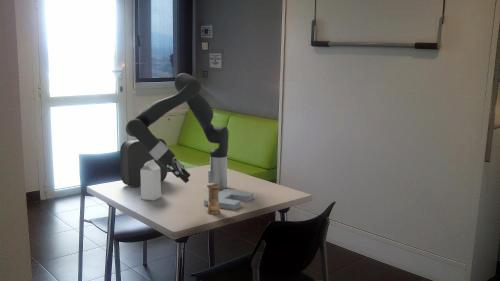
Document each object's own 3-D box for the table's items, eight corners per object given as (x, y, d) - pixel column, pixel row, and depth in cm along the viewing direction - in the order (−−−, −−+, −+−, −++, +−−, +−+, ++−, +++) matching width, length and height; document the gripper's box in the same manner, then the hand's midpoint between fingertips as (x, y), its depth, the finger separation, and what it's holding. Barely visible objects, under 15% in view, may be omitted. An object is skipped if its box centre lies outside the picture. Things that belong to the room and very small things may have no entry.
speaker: (128, 189, 252) (127, 142, 248) (119, 186, 258) (118, 140, 254) (167, 181, 270) (166, 137, 266) (158, 178, 276) (157, 135, 272)
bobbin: (205, 213, 216) (204, 185, 214) (211, 209, 221) (211, 182, 219) (215, 214, 214) (215, 186, 211) (221, 211, 219) (221, 183, 216)
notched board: (204, 205, 227) (204, 200, 227) (225, 193, 247) (225, 188, 246) (234, 210, 221) (234, 204, 220) (253, 197, 240) (253, 192, 240)
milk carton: (161, 197, 239) (160, 159, 236) (153, 201, 233) (152, 162, 230) (148, 195, 242) (147, 158, 238) (141, 199, 235) (140, 161, 232)
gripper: (166, 151, 204) (193, 177, 207) (169, 145, 218) (195, 169, 221) (153, 163, 205) (181, 189, 207) (158, 156, 219) (183, 180, 221)
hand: (188, 179), depth 214 cm, fingers open, 8 cm apart
